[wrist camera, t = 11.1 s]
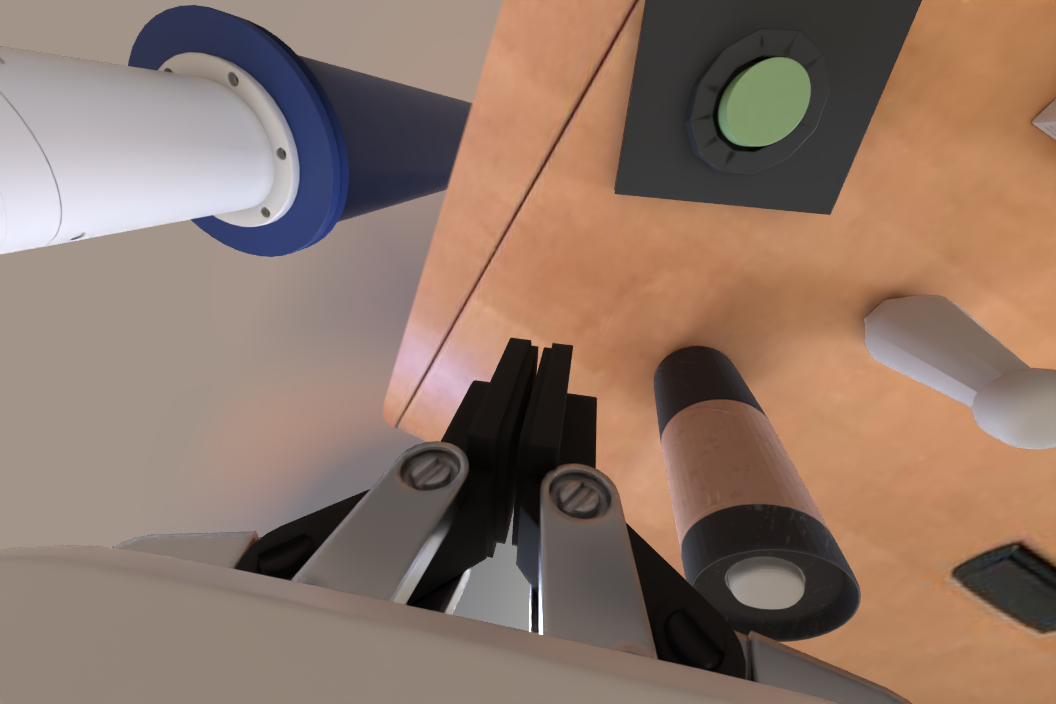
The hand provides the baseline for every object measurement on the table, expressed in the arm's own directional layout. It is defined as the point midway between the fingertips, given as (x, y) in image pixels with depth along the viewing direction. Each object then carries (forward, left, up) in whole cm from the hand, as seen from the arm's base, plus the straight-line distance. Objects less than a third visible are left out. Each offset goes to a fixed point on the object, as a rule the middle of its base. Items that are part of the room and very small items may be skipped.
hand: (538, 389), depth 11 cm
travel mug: (+12, -13, -24) cm, 30 cm away
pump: (+9, +8, -20) cm, 23 cm away
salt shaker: (+25, -5, -24) cm, 35 cm away
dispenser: (+9, +8, -24) cm, 27 cm away
